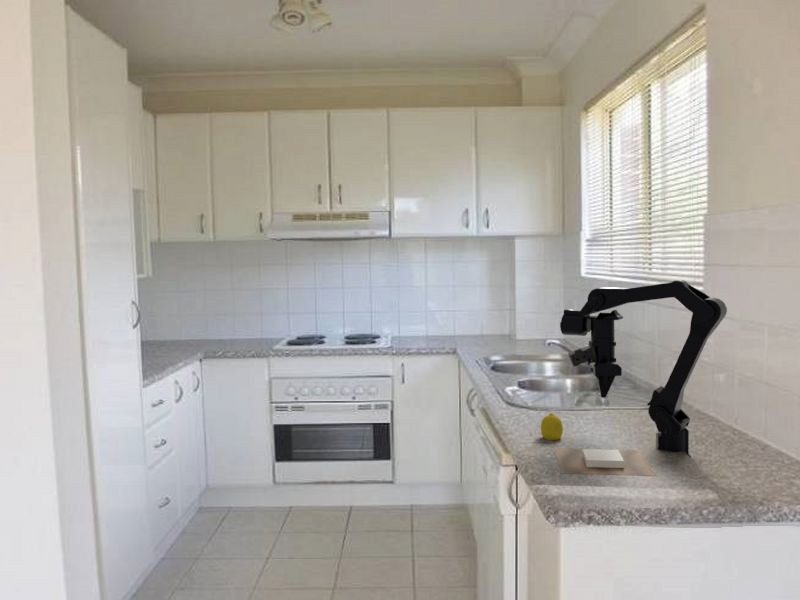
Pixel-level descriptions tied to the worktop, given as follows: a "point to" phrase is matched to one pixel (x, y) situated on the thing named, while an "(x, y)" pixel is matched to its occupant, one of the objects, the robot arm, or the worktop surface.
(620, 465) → the block
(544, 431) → the lemon
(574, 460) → the board
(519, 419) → the worktop surface
